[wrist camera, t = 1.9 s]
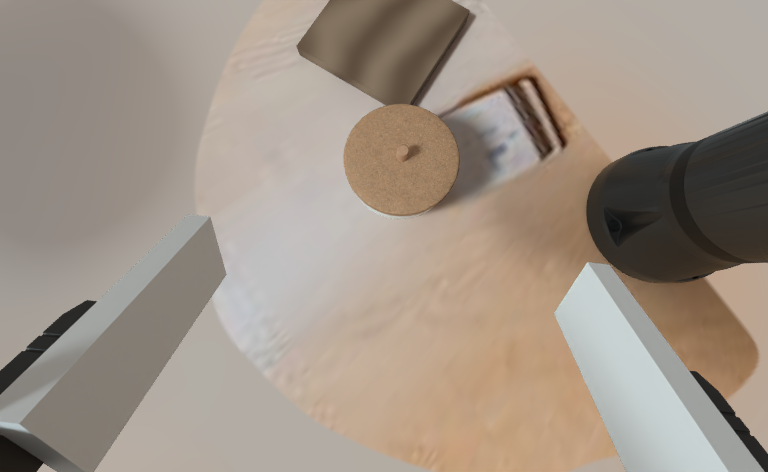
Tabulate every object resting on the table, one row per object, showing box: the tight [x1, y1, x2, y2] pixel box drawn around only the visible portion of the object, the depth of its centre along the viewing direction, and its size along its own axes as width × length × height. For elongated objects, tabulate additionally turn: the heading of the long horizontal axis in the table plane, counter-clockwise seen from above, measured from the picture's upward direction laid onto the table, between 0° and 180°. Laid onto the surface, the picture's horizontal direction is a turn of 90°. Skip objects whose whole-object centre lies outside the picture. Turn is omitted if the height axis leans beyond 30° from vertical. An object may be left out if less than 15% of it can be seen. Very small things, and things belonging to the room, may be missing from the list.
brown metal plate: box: [297, 0, 470, 106], centre depth 38 cm, size 15×15×2 cm
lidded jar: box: [344, 104, 459, 220], centre depth 32 cm, size 11×11×9 cm
